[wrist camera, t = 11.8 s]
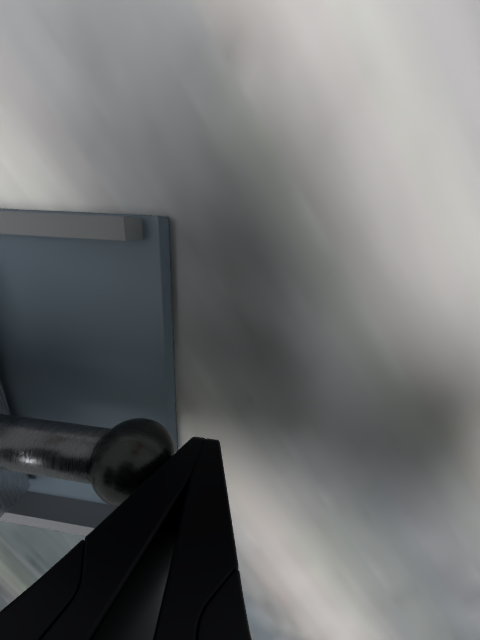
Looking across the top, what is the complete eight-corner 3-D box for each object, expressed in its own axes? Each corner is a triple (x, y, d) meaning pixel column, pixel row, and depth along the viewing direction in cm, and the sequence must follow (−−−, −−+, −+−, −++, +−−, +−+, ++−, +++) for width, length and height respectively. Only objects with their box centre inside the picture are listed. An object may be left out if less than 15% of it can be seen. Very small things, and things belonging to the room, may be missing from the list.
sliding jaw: (194, 271, 8) (100, 316, 3) (196, 513, 11) (148, 687, 7) (-98, 252, 9) (-439, 268, 5) (-18, 478, 12) (-175, 609, 8)
